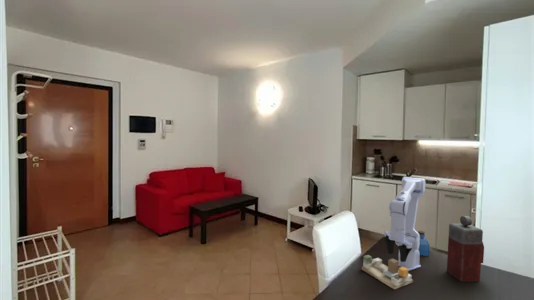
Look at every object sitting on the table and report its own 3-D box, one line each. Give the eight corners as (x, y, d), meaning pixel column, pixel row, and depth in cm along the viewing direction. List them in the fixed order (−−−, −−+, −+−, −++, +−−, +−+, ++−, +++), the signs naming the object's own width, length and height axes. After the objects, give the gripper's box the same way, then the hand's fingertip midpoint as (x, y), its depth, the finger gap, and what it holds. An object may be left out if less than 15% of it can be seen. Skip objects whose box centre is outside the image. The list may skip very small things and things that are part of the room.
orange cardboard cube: (402, 273, 117) (403, 266, 116) (407, 275, 114) (408, 269, 114) (398, 274, 115) (398, 268, 115) (403, 277, 113) (403, 270, 113)
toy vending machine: (485, 280, 118) (488, 219, 116) (461, 281, 117) (464, 219, 115) (468, 270, 127) (472, 213, 125) (446, 271, 126) (449, 213, 124)
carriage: (393, 269, 122) (393, 256, 122) (403, 274, 118) (403, 261, 117) (382, 273, 119) (383, 259, 119) (392, 278, 114) (393, 264, 114)
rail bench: (379, 264, 132) (379, 251, 132) (412, 282, 116) (413, 268, 116) (361, 269, 127) (361, 256, 127) (394, 289, 111) (394, 274, 110)
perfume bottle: (428, 256, 142) (429, 234, 141) (416, 254, 143) (417, 233, 142) (424, 251, 148) (425, 230, 147) (412, 250, 149) (413, 229, 148)
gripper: (379, 222, 123) (378, 251, 124) (402, 234, 109) (401, 266, 110) (392, 221, 124) (391, 249, 125) (416, 232, 110) (415, 264, 111)
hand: (396, 257), depth 118 cm, fingers open, 7 cm apart
